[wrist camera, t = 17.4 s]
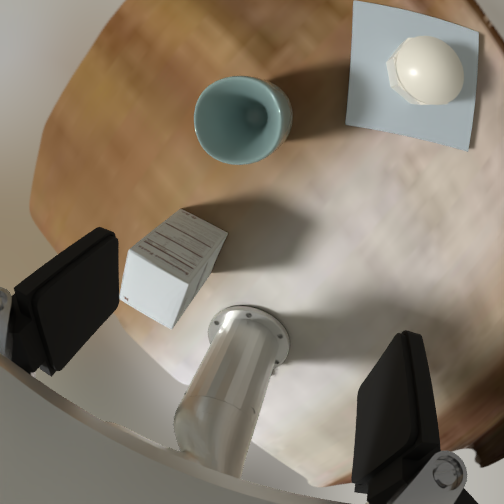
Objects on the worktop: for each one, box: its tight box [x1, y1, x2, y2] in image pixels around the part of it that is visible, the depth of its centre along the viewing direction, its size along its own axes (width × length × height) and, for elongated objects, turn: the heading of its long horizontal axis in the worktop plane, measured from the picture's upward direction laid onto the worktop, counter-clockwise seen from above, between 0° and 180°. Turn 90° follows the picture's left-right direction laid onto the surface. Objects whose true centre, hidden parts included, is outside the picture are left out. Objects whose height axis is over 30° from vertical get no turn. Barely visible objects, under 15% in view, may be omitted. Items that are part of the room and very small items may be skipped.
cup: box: [194, 76, 293, 165], centre depth 29 cm, size 8×8×10 cm
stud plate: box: [345, 1, 479, 152], centre depth 25 cm, size 14×14×6 cm
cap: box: [386, 36, 464, 105], centre depth 23 cm, size 6×6×6 cm
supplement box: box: [119, 209, 228, 329], centre depth 38 cm, size 7×7×13 cm
